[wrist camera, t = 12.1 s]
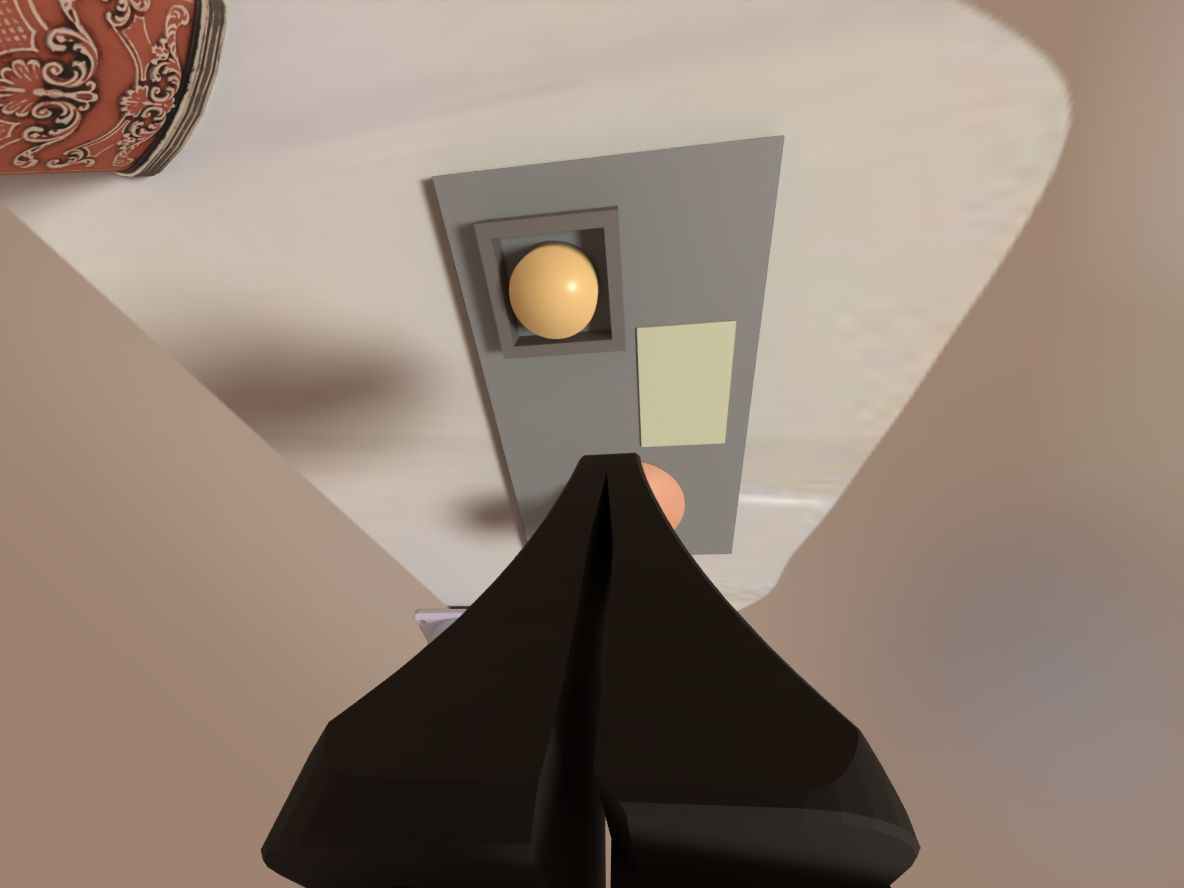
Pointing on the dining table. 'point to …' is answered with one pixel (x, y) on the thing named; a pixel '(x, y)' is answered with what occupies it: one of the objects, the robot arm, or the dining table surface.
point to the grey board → (626, 319)
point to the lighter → (104, 82)
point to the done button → (554, 290)
